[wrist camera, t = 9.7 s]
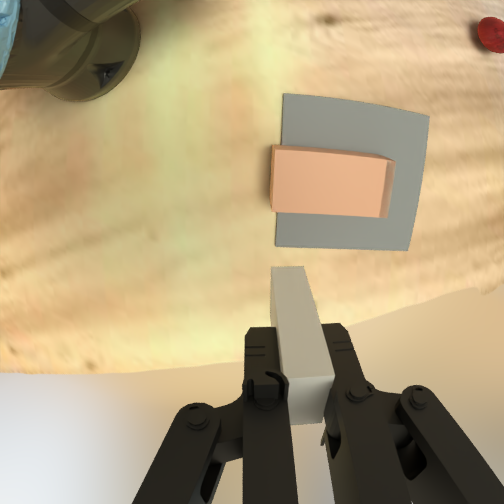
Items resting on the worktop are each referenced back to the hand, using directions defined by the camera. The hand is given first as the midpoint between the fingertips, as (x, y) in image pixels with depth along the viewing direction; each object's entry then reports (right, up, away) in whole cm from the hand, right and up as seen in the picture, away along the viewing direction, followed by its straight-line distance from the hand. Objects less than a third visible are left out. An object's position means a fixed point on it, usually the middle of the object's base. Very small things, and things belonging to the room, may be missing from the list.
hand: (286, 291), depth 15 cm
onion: (+33, +34, +13) cm, 49 cm away
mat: (+12, +12, +23) cm, 29 cm away
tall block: (+1, +10, +20) cm, 23 cm away
